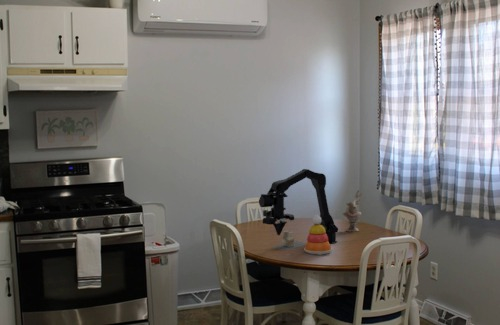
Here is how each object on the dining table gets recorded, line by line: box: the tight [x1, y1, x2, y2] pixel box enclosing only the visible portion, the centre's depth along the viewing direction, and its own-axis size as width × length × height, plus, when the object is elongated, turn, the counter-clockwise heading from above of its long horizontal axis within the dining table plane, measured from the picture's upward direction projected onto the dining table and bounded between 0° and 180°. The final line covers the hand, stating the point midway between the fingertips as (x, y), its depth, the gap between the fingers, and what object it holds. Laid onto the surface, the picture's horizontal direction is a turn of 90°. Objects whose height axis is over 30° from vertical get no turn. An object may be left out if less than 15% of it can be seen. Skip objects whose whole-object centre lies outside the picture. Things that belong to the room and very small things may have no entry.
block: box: [282, 230, 295, 248], centre depth 295 cm, size 5×4×8 cm
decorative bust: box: [342, 190, 363, 232], centre depth 334 cm, size 11×13×25 cm
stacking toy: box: [303, 214, 333, 256], centre depth 282 cm, size 14×14×20 cm
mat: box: [272, 240, 307, 251], centre depth 297 cm, size 10×20×1 cm, turn 133°
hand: (278, 235), depth 289 cm, fingers closed
